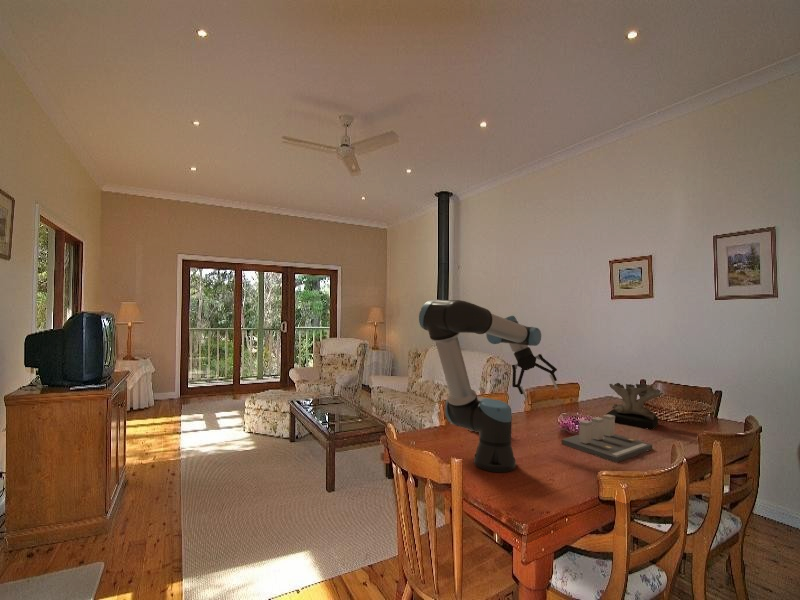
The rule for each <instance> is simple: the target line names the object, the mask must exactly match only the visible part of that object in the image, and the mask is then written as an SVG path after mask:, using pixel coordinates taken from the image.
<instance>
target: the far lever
mask: <svg viewBox="0 0 800 600" xmlns="http://www.w3.org/2000/svg"><path fill="white" fill-rule="evenodd" d="M606 414H607V413H606ZM606 414H604V415H602V418H603V419H604V426H603V435H606V436H609V437H610V436H613V435H615V434H616V433H615V431H616V430H615V429H616V428H615V426H616V423H615V416H614V415H609V414H607V415H606Z"/></svg>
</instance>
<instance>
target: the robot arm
mask: <svg viewBox="0 0 800 600" xmlns="http://www.w3.org/2000/svg"><path fill="white" fill-rule="evenodd" d="M418 323H419V325H420V327H421V329H423V330H424V331H427V332H428V334H429V338H430V340H431V341H433V342H434V343H435V346H436V348H437V352H438V356H439V359H440V363H441V367H442V370H443V374H444V379H445V381H446V385H447V389H448V392H449V395H448V397H447V399H446V402H445V407H444V414H445V417H446V419H447V421H448V422H449V423H450V424H452V425H455V426H456V427H459V428H463V429H467V430H468V429H470V430H473V431H476V432H479V433H478V434H479V435H478V436H479V439H478V440H479V441H478V445H477V448H476V450H475V454H474V457H473V463H474V465H475V466H476V467H477V468H479V469H481V470H483V471H487V472H491V473H509V472H513V471H514V470H515V469H516V467H517V466H516V465H517V463H516V458H515V456H514V455H515V454H514V451H513V448H512V422H513V421H512V420H513V415H512V407H511V406H510V405H509V404H508V403H507V402H505V401H503V400H500V399H496V398H495V399H494V398H489V397H485V398H486V399H482V400H481V401H479V400H478V398H477V397H478V395H477V392H476V390H475V389H472V387H471V383H470V379H469V376H468V372H467V367H466V364H465V360H464V356H463V353H462V349H461V345H460V340H459V338H458V337H459V334H460V333H463V334H464V333H466V334H468V333H469V334H470V333H471V334H476V335H484V334H485V335H486V339H487V341H488V342H489V343H490V344H492V345H498V344H501V343H503V344H509V348H510V349H511V351H512V352H514V353H513V355H514V357H515V360H516V362H517V363H515V364H512V365H511V369H512V388H517V390H518V392H519V394H520V395H523V397H524V398H525V401H526V402H528V401H529V398H528V397H527V394H526V392H525V389H524V387H523V385H521V384H522V381H523V377H524V373H525V371H528V370H530V369H534V368H535V367H536V368H539V369H540V370H542V371H544V372H545V373H546V372H547V373H549V378H550V380H551V381H552V383H553V385H554V388H555V389H556V390H559V387H558V384H557V381H558V378H557V377H556V375H555V372H557V370H558V369H557V367H555V366H554V365H553V364H551V363H550V362H549V361H548V360H546V359H545V358H544V357H543V354H542V353H538V354H537V355H536V356H535V355H534V353H533V351H532V349H531V346H539V345H540V343H541V341H542V331H541V330H540V328H539V327H534V326H526V325H523V324H520V323H519V321H518V320H517V318H516V316H515V315H510V316H507V317H505V318H504V317H501V316H498V315H496V314H493V313H492V312H491V311H490V310H489V309H487V308H485V307H482V306H480V305H477V304H475V303H472V302H470V301H466V300H460V299H437V298H436V299H430V300H428V301H426V302H425V303H423V304H422V306H421V307H420V311H419V313H418ZM529 346H530V347H529ZM537 360H540V361H541V362H542V363H544V364H545V365H546V366H547V367H549V368H550V369H549V368H547V367H545V366H542V365H541V364H539V363H537ZM518 368H521V369H520V372H519V377H518V380H517V377H516V376H517V369H518ZM516 380H517V382H516ZM476 432H475V433H476Z"/></svg>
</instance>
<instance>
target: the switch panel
mask: <svg viewBox="0 0 800 600" xmlns="http://www.w3.org/2000/svg"><path fill="white" fill-rule="evenodd" d="M560 442H561V445H564V446H566V447H569V448H571V449H576V450H579V451H580V452H583V453H586V452H588V453H587V454H589V453H591V454H590V455H592V454H594V455H593V456H595V455H597V456H596V457H598V456H600V457H599V458H601V457H602V459H604V458H605V459H604V460H607V459H608V460H607V461H610V460H611V461H610V462H613V461H614V462H613V463H616V462H617V463H619V461H620V462H622V461H624V460H628V459H630V458H633V457H635V456H638V454H639V455H641V454H644V453H646V452H645V451H647V450H649V451H651V450H650V449H652V450H653V443H648V442H645V441H641V440H639V439H638V440H637V439H634V438H630V437H627V436H624V435H619V434H616V433H615V435H613V436H610V437H609V436H606V435H603V439H600V440H596V439H593V438H592V437H591V442H590V443H587V444H585V443H582V442H579V434H576V435H572V436H569V437H565V438H561V441H560ZM643 452H644V453H643ZM647 452H648V451H647ZM640 453H641V454H640Z"/></svg>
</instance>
